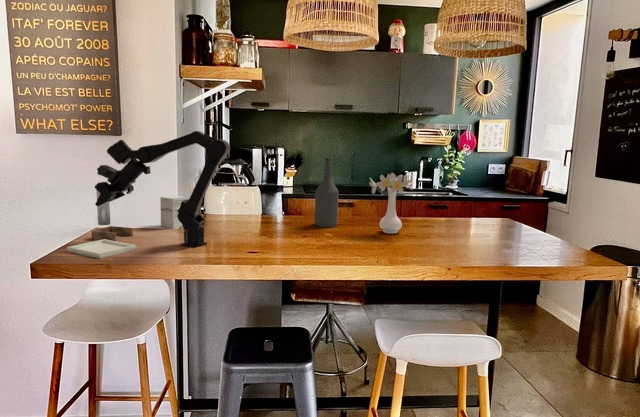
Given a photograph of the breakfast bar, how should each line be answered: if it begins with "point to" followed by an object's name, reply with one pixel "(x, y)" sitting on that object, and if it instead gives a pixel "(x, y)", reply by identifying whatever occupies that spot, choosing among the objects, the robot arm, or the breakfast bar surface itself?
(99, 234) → the brown u-shaped frame
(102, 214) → the pin
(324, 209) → the bottle
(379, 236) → the breakfast bar surface
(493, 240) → the breakfast bar surface
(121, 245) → the tray
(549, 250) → the breakfast bar surface
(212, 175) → the robot arm
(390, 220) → the flower vase
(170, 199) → the supplement box
